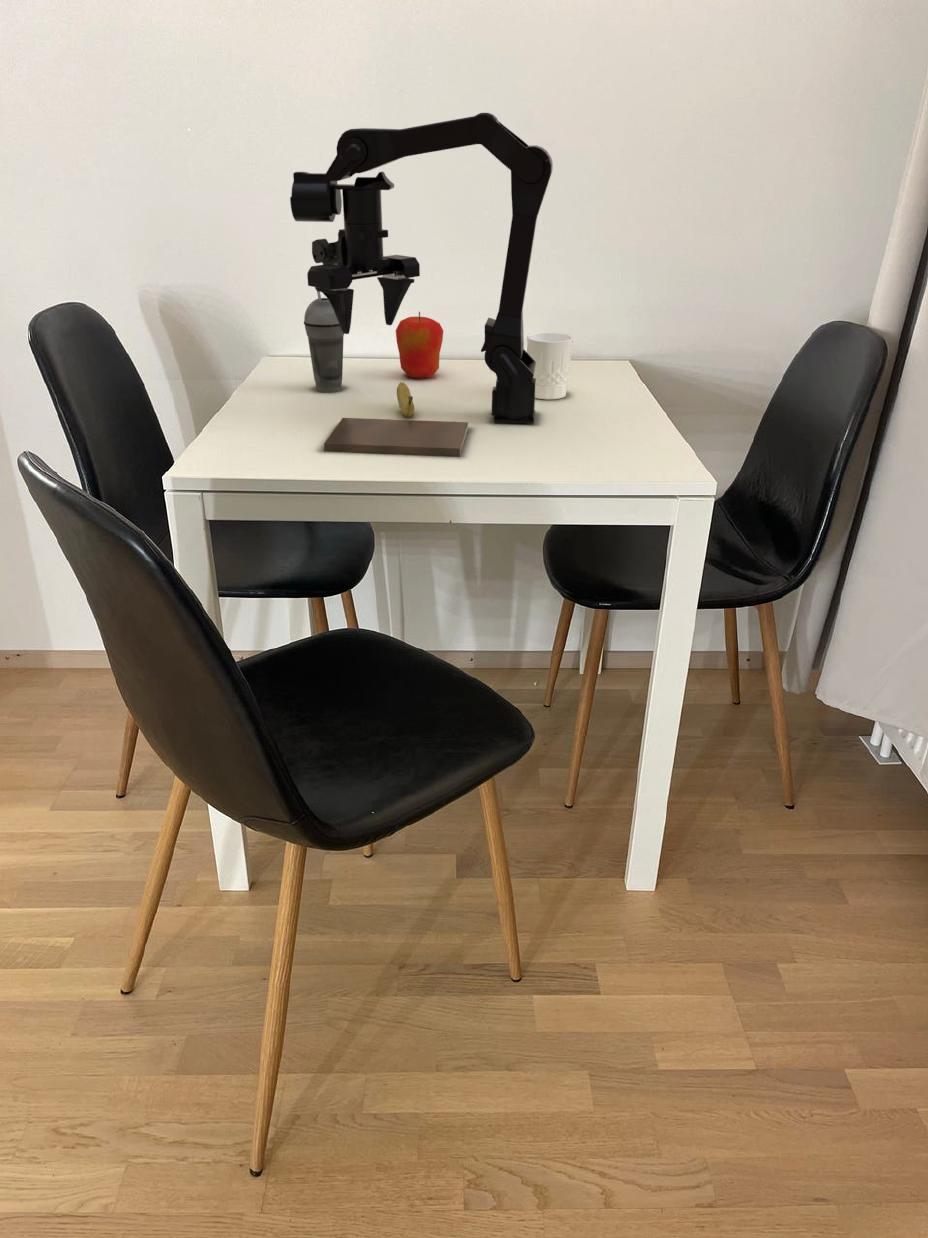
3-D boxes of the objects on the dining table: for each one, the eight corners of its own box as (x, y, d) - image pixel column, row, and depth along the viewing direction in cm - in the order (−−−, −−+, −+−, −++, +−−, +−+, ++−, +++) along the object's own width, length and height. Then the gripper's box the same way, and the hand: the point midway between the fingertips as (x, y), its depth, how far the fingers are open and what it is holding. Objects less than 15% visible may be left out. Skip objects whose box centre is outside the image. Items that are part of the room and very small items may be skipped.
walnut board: (468, 429, 145) (468, 422, 144) (459, 456, 134) (460, 448, 133) (342, 424, 146) (342, 417, 146) (324, 451, 135) (323, 443, 135)
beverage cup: (342, 395, 162) (335, 274, 152) (302, 392, 163) (293, 273, 153) (354, 384, 168) (348, 268, 158) (316, 382, 169) (308, 266, 159)
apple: (388, 377, 173) (386, 312, 167) (413, 368, 179) (412, 305, 173) (426, 384, 169) (425, 317, 163) (451, 374, 175) (451, 310, 169)
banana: (395, 404, 157) (394, 380, 155) (409, 403, 157) (408, 380, 155) (403, 421, 148) (402, 397, 146) (418, 421, 149) (417, 396, 147)
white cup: (518, 397, 161) (520, 339, 156) (532, 386, 168) (535, 330, 163) (561, 402, 159) (565, 343, 154) (574, 391, 165) (578, 334, 160)
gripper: (372, 214, 150) (376, 314, 157) (280, 223, 137) (289, 330, 145) (421, 219, 143) (423, 323, 150) (328, 228, 131) (335, 341, 138)
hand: (367, 329), depth 146 cm, fingers open, 9 cm apart
